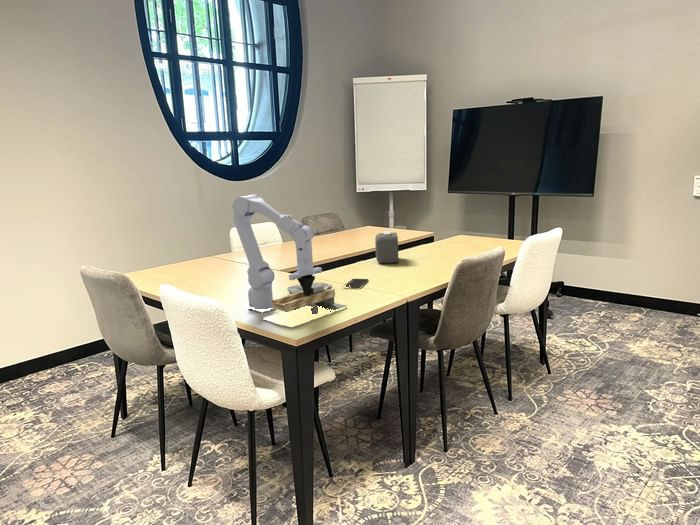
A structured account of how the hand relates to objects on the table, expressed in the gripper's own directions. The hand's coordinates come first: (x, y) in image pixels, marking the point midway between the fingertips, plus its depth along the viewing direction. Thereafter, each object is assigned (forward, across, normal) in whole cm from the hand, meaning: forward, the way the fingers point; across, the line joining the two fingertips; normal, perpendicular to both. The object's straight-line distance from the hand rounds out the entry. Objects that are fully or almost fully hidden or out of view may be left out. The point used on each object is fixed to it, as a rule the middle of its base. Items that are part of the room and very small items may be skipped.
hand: (307, 295), depth 194 cm
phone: (+7, +42, +13) cm, 44 cm away
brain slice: (+7, +18, +20) cm, 28 cm away
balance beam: (+5, -1, 0) cm, 5 cm away
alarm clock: (+7, +88, +32) cm, 93 cm away
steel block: (+1, +4, 0) cm, 4 cm away
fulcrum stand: (+7, -1, 0) cm, 7 cm away
